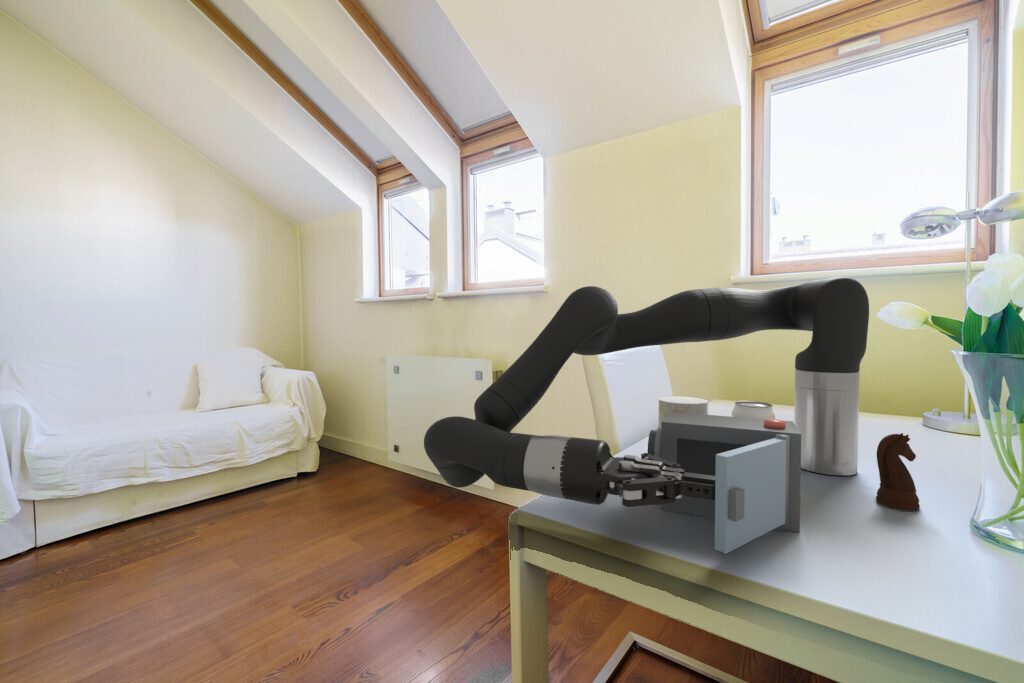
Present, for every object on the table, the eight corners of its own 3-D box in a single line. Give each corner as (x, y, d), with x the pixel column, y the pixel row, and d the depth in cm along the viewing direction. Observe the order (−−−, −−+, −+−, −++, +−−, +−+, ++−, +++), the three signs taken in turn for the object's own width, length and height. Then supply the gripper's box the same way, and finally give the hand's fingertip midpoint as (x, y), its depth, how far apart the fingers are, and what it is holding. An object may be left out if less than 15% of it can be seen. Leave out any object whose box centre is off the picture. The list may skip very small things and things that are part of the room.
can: (780, 481, 71) (782, 407, 71) (737, 479, 72) (738, 406, 72) (766, 469, 77) (767, 401, 77) (726, 467, 78) (727, 400, 78)
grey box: (654, 487, 68) (654, 405, 68) (791, 508, 60) (792, 415, 60) (645, 506, 61) (646, 414, 61) (799, 532, 53) (801, 427, 53)
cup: (649, 466, 79) (650, 399, 79) (671, 457, 84) (672, 395, 84) (694, 477, 73) (695, 405, 73) (715, 467, 78) (715, 400, 78)
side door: (713, 551, 46) (714, 451, 46) (777, 519, 54) (779, 433, 54) (733, 560, 45) (734, 456, 44) (796, 526, 52) (798, 437, 52)
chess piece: (929, 511, 59) (931, 438, 59) (890, 511, 59) (891, 437, 59) (900, 498, 64) (901, 430, 64) (864, 498, 64) (865, 429, 64)
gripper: (548, 450, 49) (721, 472, 41) (583, 426, 61) (722, 440, 53) (548, 517, 49) (720, 551, 42) (583, 480, 61) (722, 501, 53)
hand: (721, 488), depth 47 cm, fingers closed
